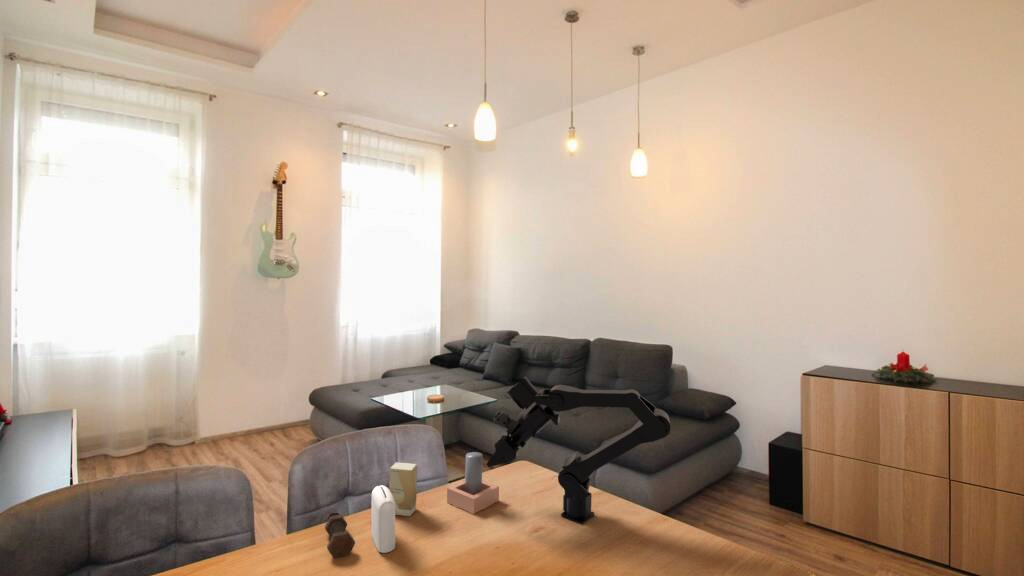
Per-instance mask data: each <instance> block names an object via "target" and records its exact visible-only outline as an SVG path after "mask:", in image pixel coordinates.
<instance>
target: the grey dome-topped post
mask: <svg viewBox="0 0 1024 576" xmlns="http://www.w3.org/2000/svg"><path fill="white" fill-rule="evenodd" d="M464 472H465V474H464V475H465V476H464V480H465V492H466V493H469V494H471V495H475V494H477V493H479V492H482V480H483V453H481V452H478V451H472V452H467V453H466V454H465V469H464Z"/></svg>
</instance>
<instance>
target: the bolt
mask: <svg viewBox="0 0 1024 576" xmlns="http://www.w3.org/2000/svg"><path fill="white" fill-rule="evenodd" d="M326 521H327V522H326V523H325V526H324V530H325V532H327V534H328V535H329V537H330V540H329V541H328V543H327V546H326V549H327V551H328V553H329V554H330V556H332V558H333V559H341V558H344V557H347V556H350V554H351V552H352V551H353V549H354V547H355V544H356V540H355V539H354V538H353V536H352V535H351V533H350V532H349V531H348V530H346V528H347V526H348V523H347V521H346V519H345V517H344V516H343V515H342V514H340V513H338V512H332V513H329V515H328V517H327V520H326Z"/></svg>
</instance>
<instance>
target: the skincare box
mask: <svg viewBox="0 0 1024 576" xmlns="http://www.w3.org/2000/svg"><path fill="white" fill-rule="evenodd" d="M388 479H389V481H388V482H389V483H388V489H389V490H390V492H391V493H392V496H393V498H394V501H395V516H402V517H404V516H405V517H411V516H412V515H413V514H414V512H415V511H416V510H417V493H418V492H417V490H418V489H417V488H418V487H417V486H418V464H417V463H410V462H399V461H398V462H397V461H396V462H394V463H393V464H392V465H391V466H390V468H389V478H388Z"/></svg>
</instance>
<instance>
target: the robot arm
mask: <svg viewBox="0 0 1024 576" xmlns="http://www.w3.org/2000/svg"><path fill="white" fill-rule="evenodd" d="M506 395H507V396H508V398H510V399H511V400H512V401H513V403H514V404H515V405H516V406H517V407H518V408H519V410H521V409H522V410H528V411H527V412H526V413H524V414H523V413H522V414H521V415H518V414H516V413H515V412H513V411H512V410H510V409H508V408H506V407H504V406H501V407H500V408H498V410H497V412H496V413H495V415H494V417H493V422H494V423H495V424H498V425H500V426H502V427H504V428H506V429H507V430H506V433H507V435H504V434H503V435H501V436H500V437H499V438H498V439H497V440H496V442H495V443H494V448H495V450H494V452H493V454H492V455H491V457H490V459H489V460H488V461H487V462H486V466H487V467H488V468H492V467H494V466H495V467H496V466H498V465H503V464H506V463H510V464H511V463H513V462H514V461H515V460H516V459H517V458H518V456H519V454H520V448H519V447H521V449H523V448H524V447H525V446H526V445H527V443H528V442H529V441H530V440H531V439H534V438H535V437H536V436H537V434H538V433H539V432H540V431H541V430H542V429H544V427H546V425H548V424H549V423H550V422H552V423H553V425H555V426H558V425H559V423H560V421H561V419H560V418H561V412H567V411H571V410H576V409H579V408H628V409H629V410H630V411H631V412H632V413H633V415H635V416H636V418H637V419H638V421H637V422H636V423H635V424H634V426H633V427H631V428H629V429H628V430H627V431H624V432H623V433H621V434H619V435H618V436H616V437H615V438H613V439H611V440H610V441H607V442H606V443H604V444H603V445H601V446H599V447H597V448H596V449H594V450H593V451H591V452H590V453H588V454H585V455H580V452H579V451H576V452H575V453H574V454H572V455H571V456H567V457H565V459H564V462H563V463H562V464H561V467H560V470H559V472H558V476H557V480H558V484H559V486H560V487H561V488H563V490H564V494H563V496H562V497H563V501H562V502H563V503H562V510H563V512H562V513H560V516H561V517H562V518H566V519H568V520H571V521H574V522H576V523H578V524H581V525H583V524H584V523H586V522H587V521H588V520H590V519H591V518H592V517H593V516H595V512H594V511H592V494H593V493H592V492H589V490H590V487H591V481H592V478H590V476H591V475H592V474H593V473H594V472H596V471H597V470H599V469H601V468H602V467H604V466H606V465H608V464H609V463H611V462H612V461H614V460H616V459H618V458H619V457H621V456H623V455H625V454H626V453H628V452H629V451H631V450H633V449H635V448H636V447H638V446H640V445H644V444H648V443H655V442H657V441H659V440H660V441H661V440H662V439H665V438H666V437H668V436H669V435H670V433H671V422H670V417H669V415H668V413H667V412H666V411H665V410H663V409H661V408H656V407H655V406H654V405H653V404H652V403H651V402H650V401H648V400H647V399H646V398H645V397H643V396H642V395H641V394H640V393H639V392H638V391H637V390H635V389H632V388H630V389H625V390H622V389H621V390H619V389H581V388H577V387H574V386H570V385H564V384H557V385H554V386H553V387H552V388H543V389H540V390H538V388H537V387H535V386H534V385H533V384H532V383H531V381H530V379H529V378H528V377H527V376H523V378H522V379H520V380H519V382H517V383H516V384H514V385H513V386H512V387H511V388H510V389H509V390H508V391H507V392H506ZM534 403H535V404H534ZM533 404H534V405H533ZM532 405H533V406H532ZM531 406H532V407H531ZM530 407H531V408H530ZM529 408H530V409H529Z"/></svg>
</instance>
